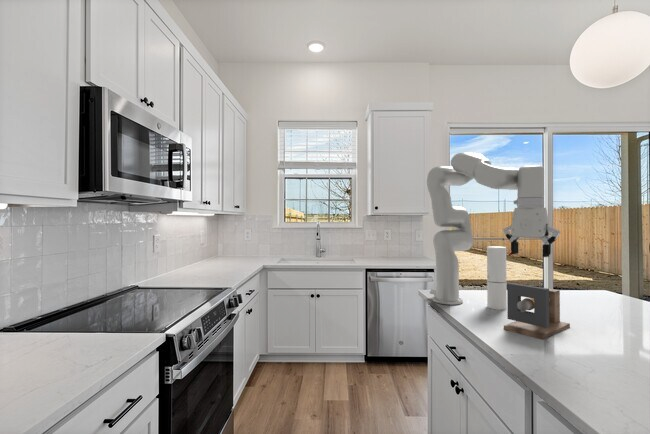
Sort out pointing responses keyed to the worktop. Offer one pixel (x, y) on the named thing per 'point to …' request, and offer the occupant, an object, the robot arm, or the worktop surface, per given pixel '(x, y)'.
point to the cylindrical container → (496, 278)
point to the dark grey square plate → (540, 304)
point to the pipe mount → (538, 331)
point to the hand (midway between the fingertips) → (529, 255)
